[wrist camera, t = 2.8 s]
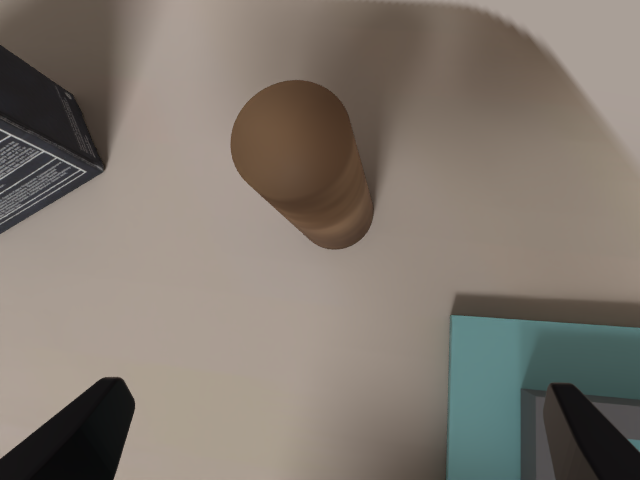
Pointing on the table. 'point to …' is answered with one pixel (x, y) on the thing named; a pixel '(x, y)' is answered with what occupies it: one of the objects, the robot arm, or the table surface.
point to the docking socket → (530, 390)
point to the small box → (39, 142)
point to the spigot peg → (304, 161)
